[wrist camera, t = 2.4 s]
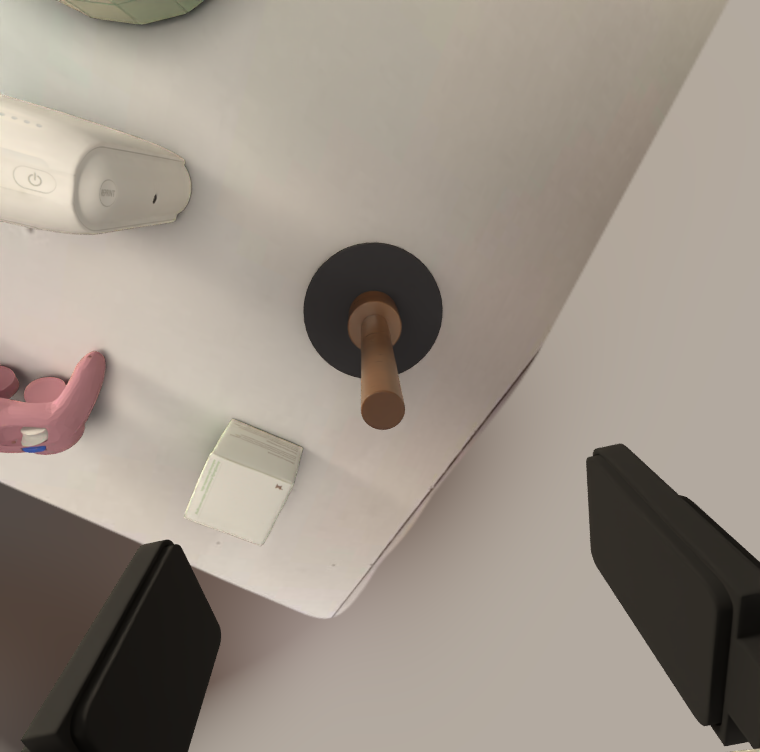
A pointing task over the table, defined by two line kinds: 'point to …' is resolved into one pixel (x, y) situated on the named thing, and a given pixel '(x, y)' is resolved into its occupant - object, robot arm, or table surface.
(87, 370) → the video game controller
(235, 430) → the small box
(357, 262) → the coaster
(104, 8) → the bowl
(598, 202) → the table surface
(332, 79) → the table surface
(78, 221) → the photo printer
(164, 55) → the table surface
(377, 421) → the pestle
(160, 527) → the table surface
